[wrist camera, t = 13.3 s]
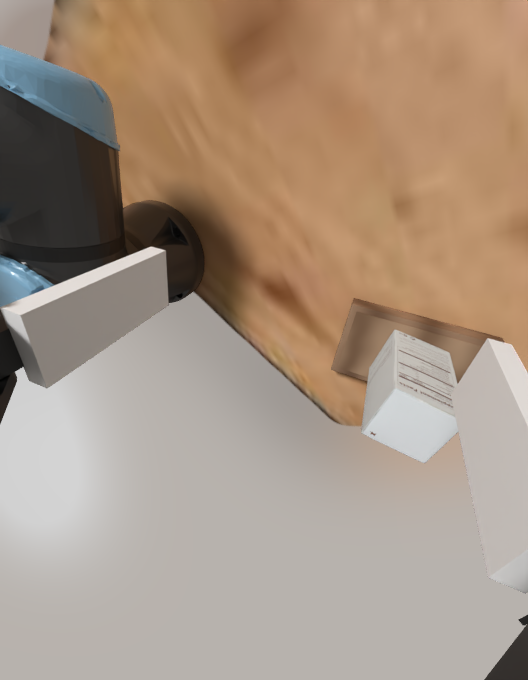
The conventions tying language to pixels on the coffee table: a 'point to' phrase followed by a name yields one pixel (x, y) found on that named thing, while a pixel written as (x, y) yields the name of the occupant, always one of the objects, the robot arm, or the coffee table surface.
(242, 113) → the coffee table surface
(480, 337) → the walnut board
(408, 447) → the supplement box
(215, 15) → the coffee table surface
